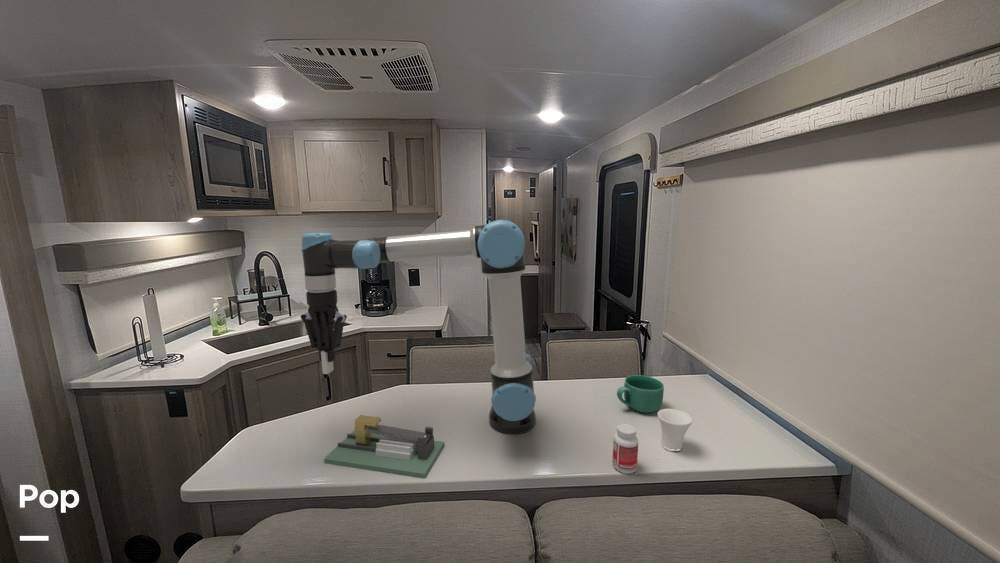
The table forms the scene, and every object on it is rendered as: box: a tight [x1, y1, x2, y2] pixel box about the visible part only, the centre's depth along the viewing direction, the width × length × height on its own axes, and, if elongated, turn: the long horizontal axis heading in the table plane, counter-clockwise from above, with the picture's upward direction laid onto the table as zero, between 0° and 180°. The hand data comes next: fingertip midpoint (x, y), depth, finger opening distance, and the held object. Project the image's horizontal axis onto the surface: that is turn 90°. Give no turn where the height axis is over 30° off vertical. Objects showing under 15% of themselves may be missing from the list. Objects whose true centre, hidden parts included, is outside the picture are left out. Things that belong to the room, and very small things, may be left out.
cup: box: [657, 408, 693, 450], centre depth 105 cm, size 9×9×10 cm
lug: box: [354, 414, 382, 446], centre depth 104 cm, size 6×3×8 cm, turn 78°
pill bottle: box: [611, 423, 639, 475], centre depth 96 cm, size 6×6×11 cm
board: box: [323, 426, 445, 479], centre depth 102 cm, size 29×14×7 cm, turn 78°
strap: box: [367, 424, 431, 443], centre depth 102 cm, size 18×3×2 cm, turn 78°
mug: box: [616, 374, 665, 413], centre depth 127 cm, size 17×13×10 cm
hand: (328, 371), depth 104 cm, fingers closed
